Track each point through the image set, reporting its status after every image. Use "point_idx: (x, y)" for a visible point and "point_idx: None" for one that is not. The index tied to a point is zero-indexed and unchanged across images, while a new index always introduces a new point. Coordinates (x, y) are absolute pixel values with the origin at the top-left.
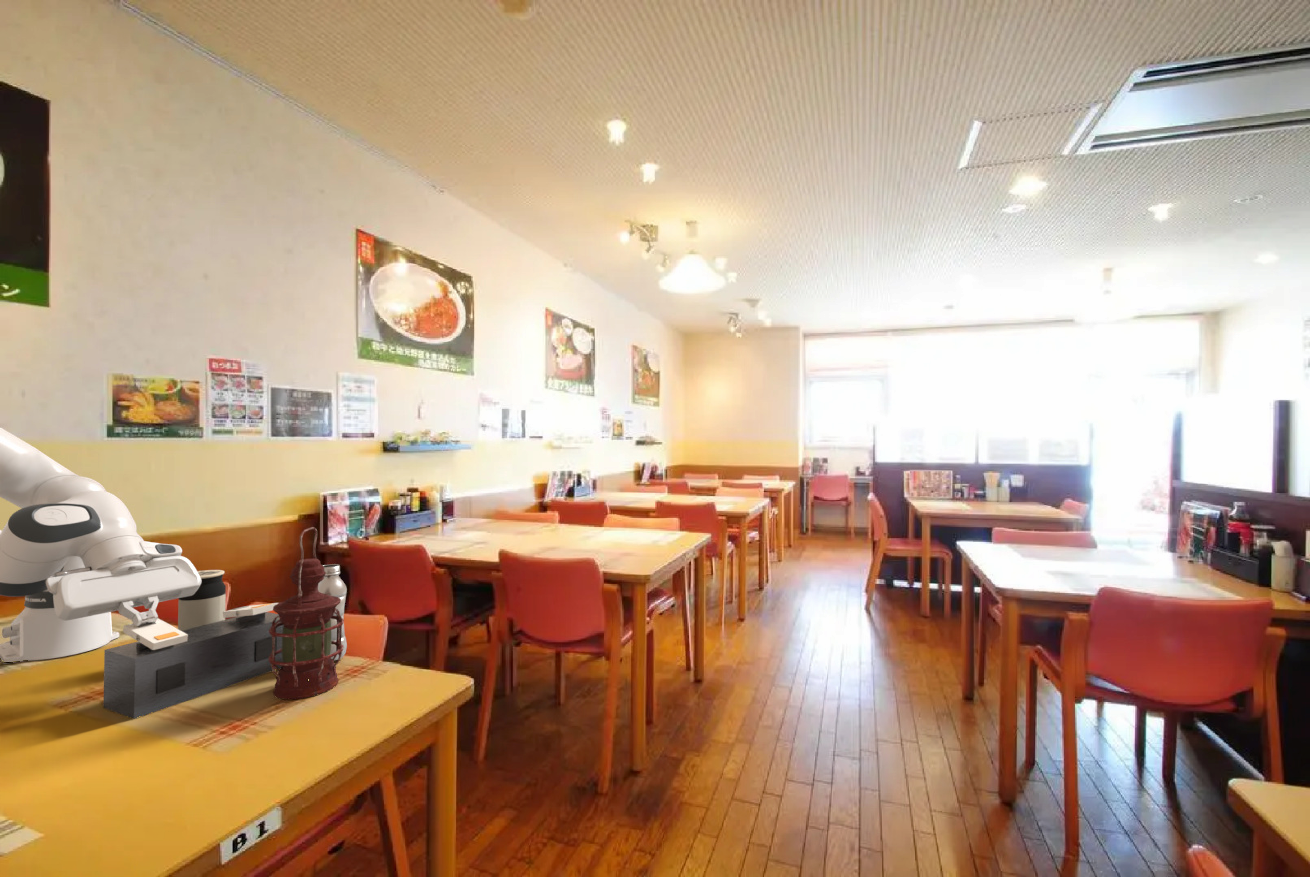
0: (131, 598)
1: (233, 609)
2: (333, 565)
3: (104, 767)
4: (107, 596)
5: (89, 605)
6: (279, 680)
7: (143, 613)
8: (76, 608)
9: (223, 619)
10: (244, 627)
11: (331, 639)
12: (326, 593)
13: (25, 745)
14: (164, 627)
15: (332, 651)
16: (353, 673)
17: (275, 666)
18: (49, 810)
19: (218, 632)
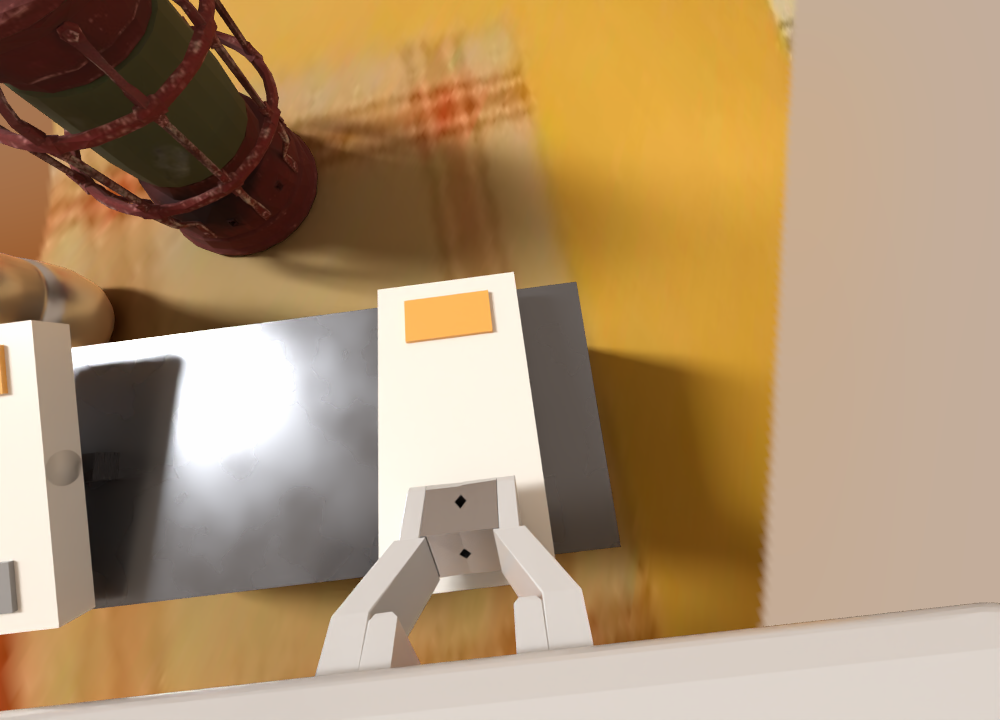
0: (525, 655)
1: (12, 590)
2: None
3: (658, 133)
4: (751, 709)
5: (874, 620)
6: (289, 157)
7: (474, 516)
8: (971, 606)
9: None
10: (147, 362)
11: (19, 258)
12: None
13: (750, 393)
14: (411, 429)
15: (66, 268)
16: (133, 180)
17: (252, 198)
18: (747, 45)
19: (241, 382)
